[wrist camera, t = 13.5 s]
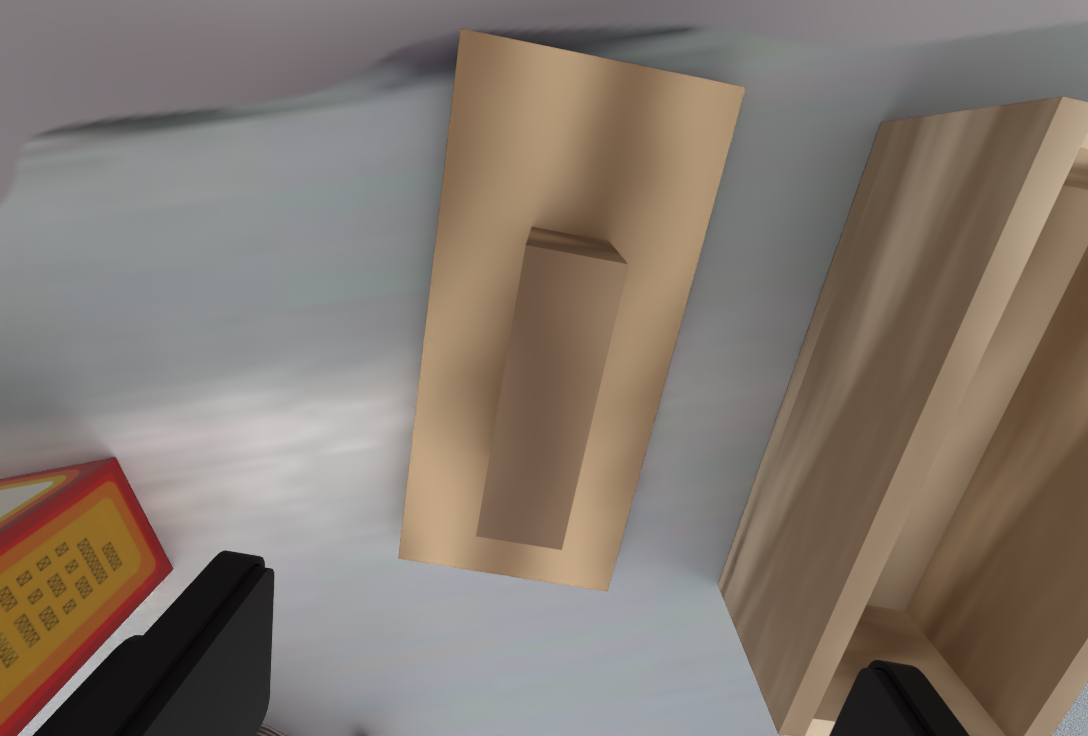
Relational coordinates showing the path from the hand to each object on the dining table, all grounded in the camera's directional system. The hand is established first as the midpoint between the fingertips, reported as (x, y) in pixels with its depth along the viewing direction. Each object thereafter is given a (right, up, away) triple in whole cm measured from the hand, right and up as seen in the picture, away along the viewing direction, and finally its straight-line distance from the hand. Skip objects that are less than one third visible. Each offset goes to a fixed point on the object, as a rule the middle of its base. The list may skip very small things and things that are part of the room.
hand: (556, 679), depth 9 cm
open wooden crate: (+16, +3, +16) cm, 23 cm away
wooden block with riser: (0, +6, +16) cm, 17 cm away
